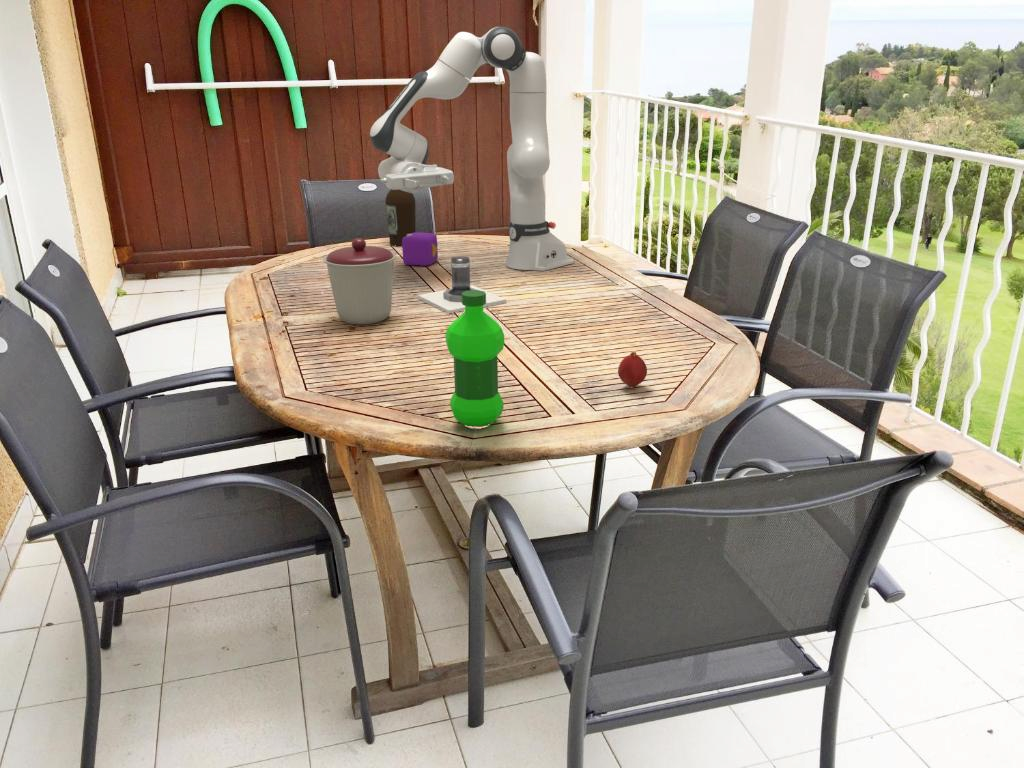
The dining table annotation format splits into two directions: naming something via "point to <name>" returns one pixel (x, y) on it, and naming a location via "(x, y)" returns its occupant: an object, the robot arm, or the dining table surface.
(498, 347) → the plastic bottle
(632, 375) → the onion
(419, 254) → the toy camera
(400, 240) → the olive oil
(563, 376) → the dining table surface
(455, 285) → the lens tube
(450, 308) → the mount board
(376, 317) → the canister
